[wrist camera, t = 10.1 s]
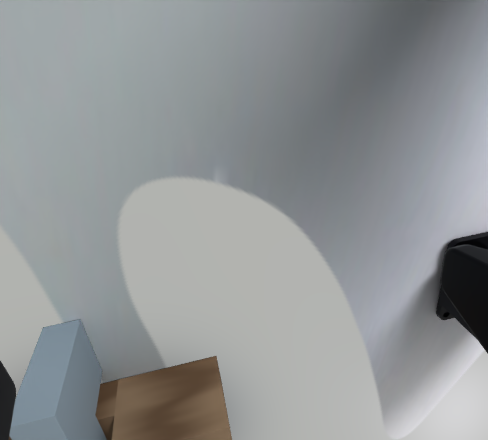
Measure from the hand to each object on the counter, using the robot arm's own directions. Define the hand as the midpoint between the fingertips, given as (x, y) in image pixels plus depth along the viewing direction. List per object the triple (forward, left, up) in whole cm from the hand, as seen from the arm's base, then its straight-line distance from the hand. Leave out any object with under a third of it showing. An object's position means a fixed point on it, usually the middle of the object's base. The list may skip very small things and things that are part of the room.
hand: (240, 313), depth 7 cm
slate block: (+9, +15, -12) cm, 21 cm away
